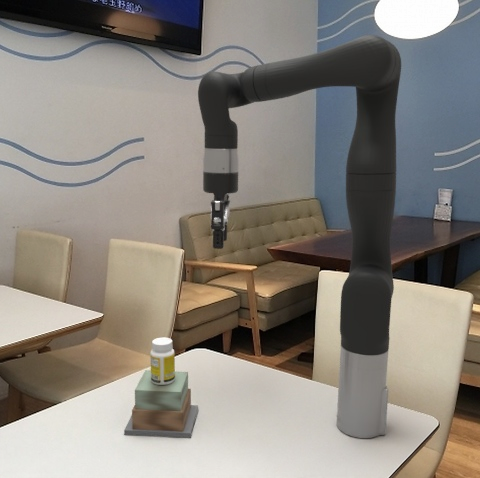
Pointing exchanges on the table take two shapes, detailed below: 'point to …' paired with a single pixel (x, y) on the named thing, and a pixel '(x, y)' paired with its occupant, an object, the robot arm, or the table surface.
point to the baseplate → (182, 434)
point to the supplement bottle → (162, 361)
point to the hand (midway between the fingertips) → (220, 244)
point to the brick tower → (161, 404)
